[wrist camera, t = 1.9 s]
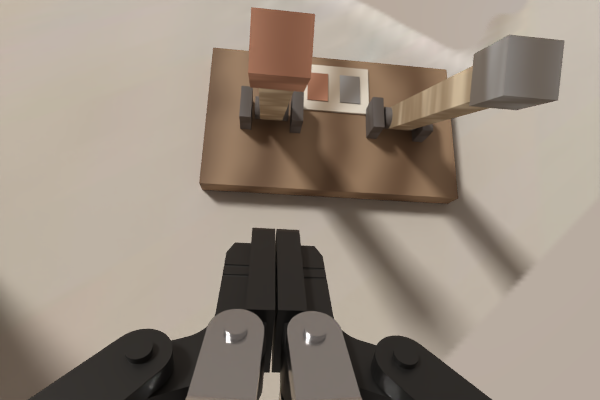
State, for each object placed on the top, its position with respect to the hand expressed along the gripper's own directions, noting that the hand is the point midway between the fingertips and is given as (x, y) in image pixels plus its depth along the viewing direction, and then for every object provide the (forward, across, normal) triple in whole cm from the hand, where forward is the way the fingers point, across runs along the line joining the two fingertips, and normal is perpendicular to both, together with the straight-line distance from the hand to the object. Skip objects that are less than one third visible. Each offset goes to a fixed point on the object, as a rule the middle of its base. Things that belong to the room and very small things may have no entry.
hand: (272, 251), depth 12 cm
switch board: (+27, -6, +5) cm, 28 cm away
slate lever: (+24, -12, +2) cm, 27 cm away
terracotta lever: (+25, 0, +3) cm, 25 cm away
